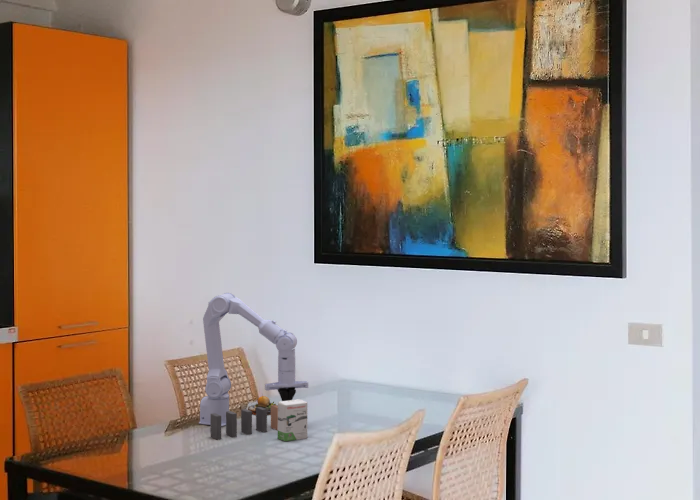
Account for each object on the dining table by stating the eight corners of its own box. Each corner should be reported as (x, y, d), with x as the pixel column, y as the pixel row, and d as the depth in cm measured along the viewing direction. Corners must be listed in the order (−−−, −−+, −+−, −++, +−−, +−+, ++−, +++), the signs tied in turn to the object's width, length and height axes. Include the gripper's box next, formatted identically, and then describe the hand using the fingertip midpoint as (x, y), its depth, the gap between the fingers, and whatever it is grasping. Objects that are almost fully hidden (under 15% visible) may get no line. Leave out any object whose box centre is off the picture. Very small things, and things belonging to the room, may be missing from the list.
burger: (287, 411, 338) (287, 390, 337) (267, 417, 328) (267, 396, 327) (261, 407, 344) (261, 387, 344) (240, 413, 334) (240, 392, 334)
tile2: (262, 432, 306) (262, 409, 306) (256, 429, 310) (256, 407, 309) (266, 431, 307) (266, 409, 306) (260, 429, 310) (260, 406, 310)
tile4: (232, 437, 300) (232, 414, 299) (226, 434, 303) (225, 411, 303) (236, 436, 301) (236, 413, 300) (230, 433, 304) (230, 410, 304)
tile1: (277, 430, 309) (277, 407, 309) (270, 427, 313) (270, 405, 312) (281, 429, 310) (281, 407, 310) (274, 426, 314) (274, 404, 313)
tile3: (247, 435, 303) (247, 412, 302) (241, 432, 306) (241, 409, 306) (252, 434, 304) (252, 411, 303) (245, 431, 307) (245, 408, 307)
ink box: (284, 441, 294) (284, 404, 294) (276, 438, 299) (276, 401, 298) (308, 438, 299) (308, 401, 299) (300, 434, 303) (300, 398, 303)
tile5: (216, 439, 297) (216, 416, 296) (210, 436, 300) (210, 413, 300) (221, 439, 298) (221, 415, 297) (215, 436, 301) (215, 413, 301)
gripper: (304, 366, 319) (304, 406, 320) (262, 369, 314) (262, 409, 315) (310, 370, 312) (310, 410, 313) (267, 372, 307) (267, 413, 308)
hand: (286, 410), depth 313 cm, fingers closed
